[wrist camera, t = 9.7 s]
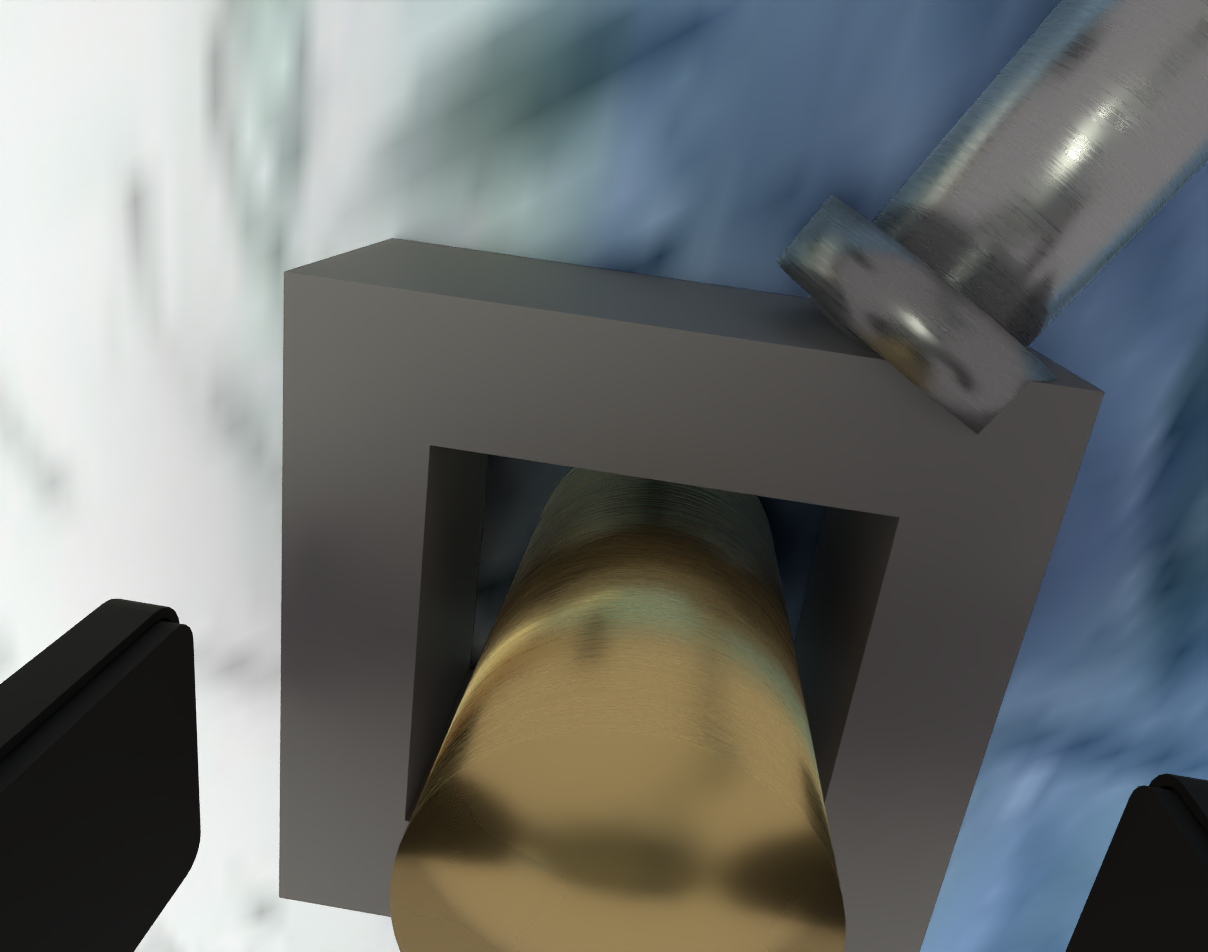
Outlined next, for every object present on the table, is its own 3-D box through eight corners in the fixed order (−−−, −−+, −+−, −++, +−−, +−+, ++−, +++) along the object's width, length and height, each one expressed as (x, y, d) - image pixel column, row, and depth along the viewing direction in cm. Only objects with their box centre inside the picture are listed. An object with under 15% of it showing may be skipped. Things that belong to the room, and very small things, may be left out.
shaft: (936, 394, 14) (1032, 493, 10) (757, 247, 14) (784, 289, 10) (1337, -27, 12) (1667, -114, 8) (1139, -222, 11) (1384, -422, 7)
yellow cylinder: (794, 459, 15) (894, 777, 7) (749, 673, 16) (795, 1127, 9) (549, 422, 15) (401, 695, 7) (525, 636, 16) (380, 1049, 9)
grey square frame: (992, 325, 14) (1104, 391, 10) (855, 816, 17) (901, 1006, 13) (392, 238, 14) (284, 271, 10) (368, 735, 17) (279, 897, 14)
